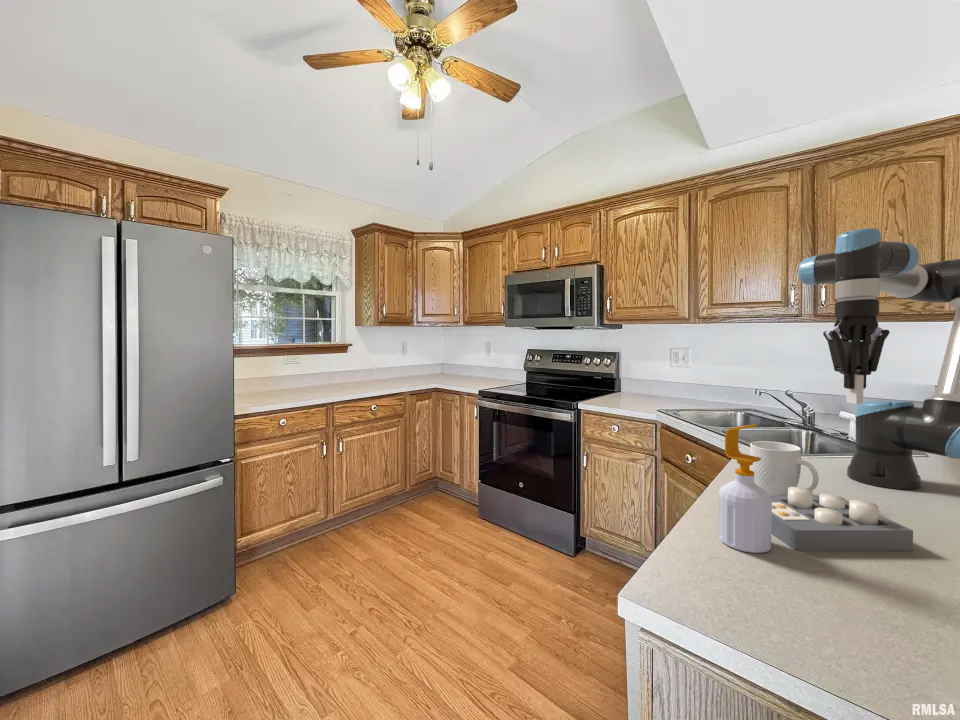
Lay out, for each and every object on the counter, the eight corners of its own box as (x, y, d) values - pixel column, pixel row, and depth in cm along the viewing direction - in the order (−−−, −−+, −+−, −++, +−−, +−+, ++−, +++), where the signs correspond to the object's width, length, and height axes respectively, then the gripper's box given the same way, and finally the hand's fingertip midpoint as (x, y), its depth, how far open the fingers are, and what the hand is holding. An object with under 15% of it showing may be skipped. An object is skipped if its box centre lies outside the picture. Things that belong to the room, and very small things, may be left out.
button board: (836, 512, 98) (836, 494, 97) (912, 550, 80) (913, 528, 79) (741, 512, 99) (741, 494, 98) (795, 550, 81) (795, 528, 81)
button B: (864, 520, 87) (865, 499, 87) (884, 530, 82) (884, 508, 82) (843, 520, 87) (843, 499, 87) (861, 530, 83) (861, 508, 82)
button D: (830, 528, 87) (830, 507, 87) (847, 538, 83) (848, 516, 83) (808, 528, 87) (809, 507, 87) (825, 538, 83) (825, 516, 83)
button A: (833, 512, 95) (834, 493, 95) (850, 521, 91) (850, 501, 90) (814, 512, 95) (814, 493, 95) (829, 521, 91) (829, 501, 91)
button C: (802, 505, 95) (802, 486, 95) (817, 513, 91) (817, 493, 91) (783, 505, 95) (783, 486, 95) (796, 513, 91) (797, 493, 91)
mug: (826, 500, 105) (826, 449, 104) (809, 510, 99) (809, 456, 98) (760, 484, 117) (760, 438, 117) (742, 492, 111) (742, 444, 111)
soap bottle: (755, 558, 78) (756, 430, 77) (709, 538, 86) (709, 422, 85) (781, 547, 82) (782, 425, 81) (734, 529, 90) (735, 418, 89)
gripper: (871, 300, 97) (869, 400, 98) (814, 302, 97) (812, 401, 98) (902, 297, 89) (900, 405, 90) (840, 298, 90) (838, 405, 91)
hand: (854, 402), depth 94 cm, fingers closed
